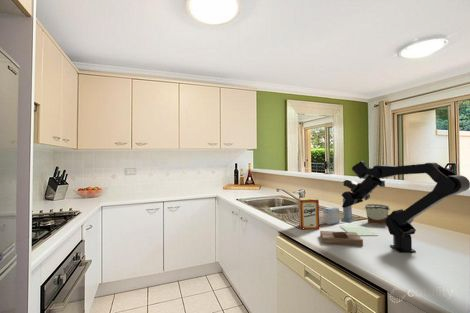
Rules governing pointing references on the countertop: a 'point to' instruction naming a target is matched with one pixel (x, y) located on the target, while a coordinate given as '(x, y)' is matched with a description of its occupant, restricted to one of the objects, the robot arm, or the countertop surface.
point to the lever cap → (347, 214)
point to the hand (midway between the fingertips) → (344, 206)
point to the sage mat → (359, 230)
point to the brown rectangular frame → (341, 238)
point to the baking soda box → (308, 213)
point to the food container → (376, 213)
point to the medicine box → (331, 215)
